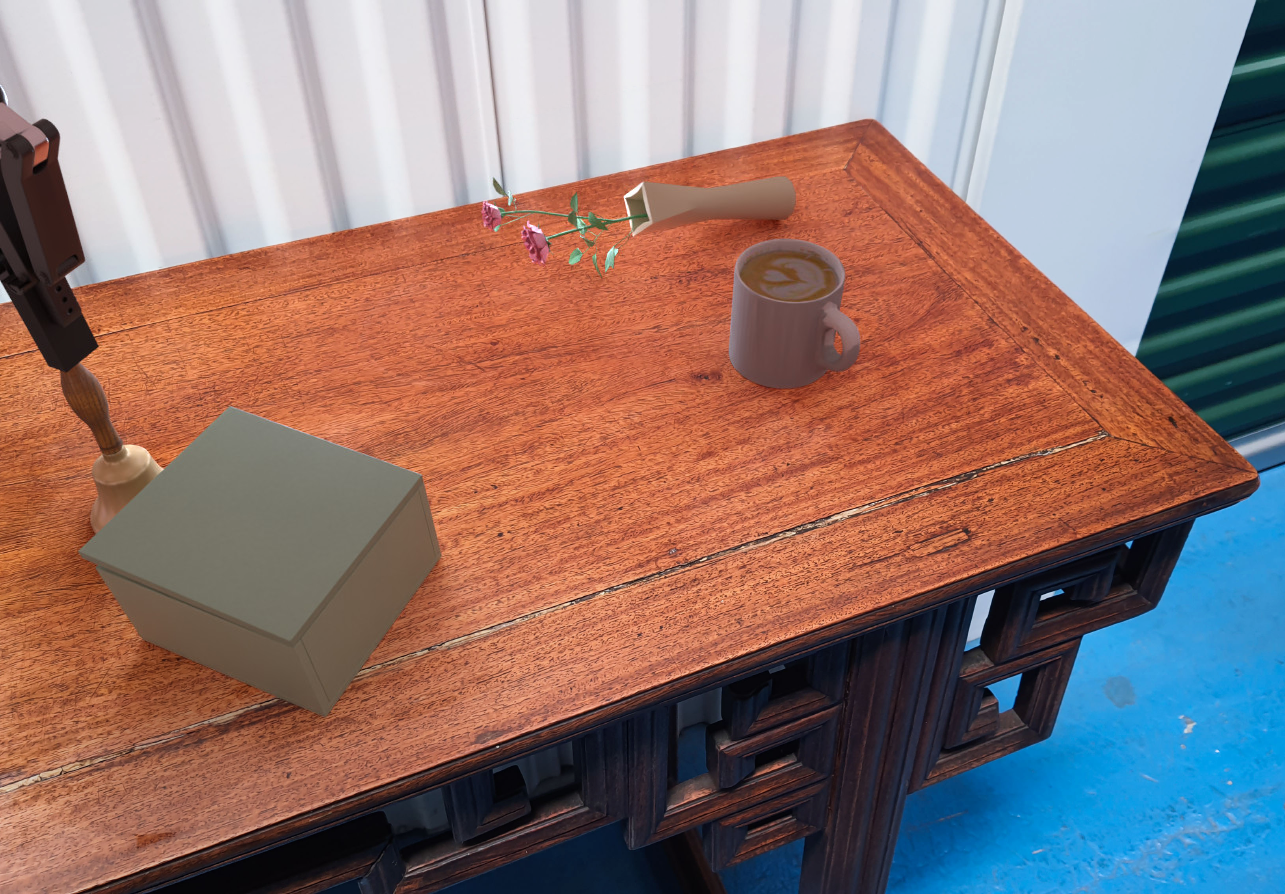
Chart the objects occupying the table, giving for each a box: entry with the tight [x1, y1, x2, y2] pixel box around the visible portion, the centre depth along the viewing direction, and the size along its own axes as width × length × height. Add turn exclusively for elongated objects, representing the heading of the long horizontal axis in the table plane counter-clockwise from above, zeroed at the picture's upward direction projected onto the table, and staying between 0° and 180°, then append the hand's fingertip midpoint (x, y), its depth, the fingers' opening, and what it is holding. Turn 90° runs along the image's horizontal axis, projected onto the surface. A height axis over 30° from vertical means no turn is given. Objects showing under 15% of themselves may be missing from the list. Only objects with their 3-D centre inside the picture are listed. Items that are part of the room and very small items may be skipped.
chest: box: [95, 482, 442, 718], centre depth 74 cm, size 17×16×9 cm
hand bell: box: [59, 362, 165, 535], centre depth 78 cm, size 8×8×16 cm
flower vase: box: [480, 175, 797, 279], centre depth 106 cm, size 12×12×35 cm
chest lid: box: [77, 405, 425, 648], centre depth 70 cm, size 17×16×1 cm
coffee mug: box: [728, 238, 861, 390], centre depth 92 cm, size 13×10×10 cm
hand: (73, 356), depth 62 cm, fingers closed
